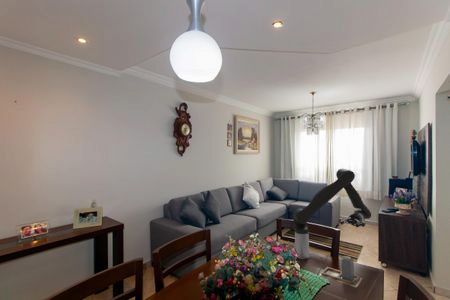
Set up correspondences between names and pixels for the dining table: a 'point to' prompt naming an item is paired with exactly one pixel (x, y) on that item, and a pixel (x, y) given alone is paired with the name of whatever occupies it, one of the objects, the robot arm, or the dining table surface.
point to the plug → (347, 268)
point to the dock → (339, 277)
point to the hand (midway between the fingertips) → (348, 224)
